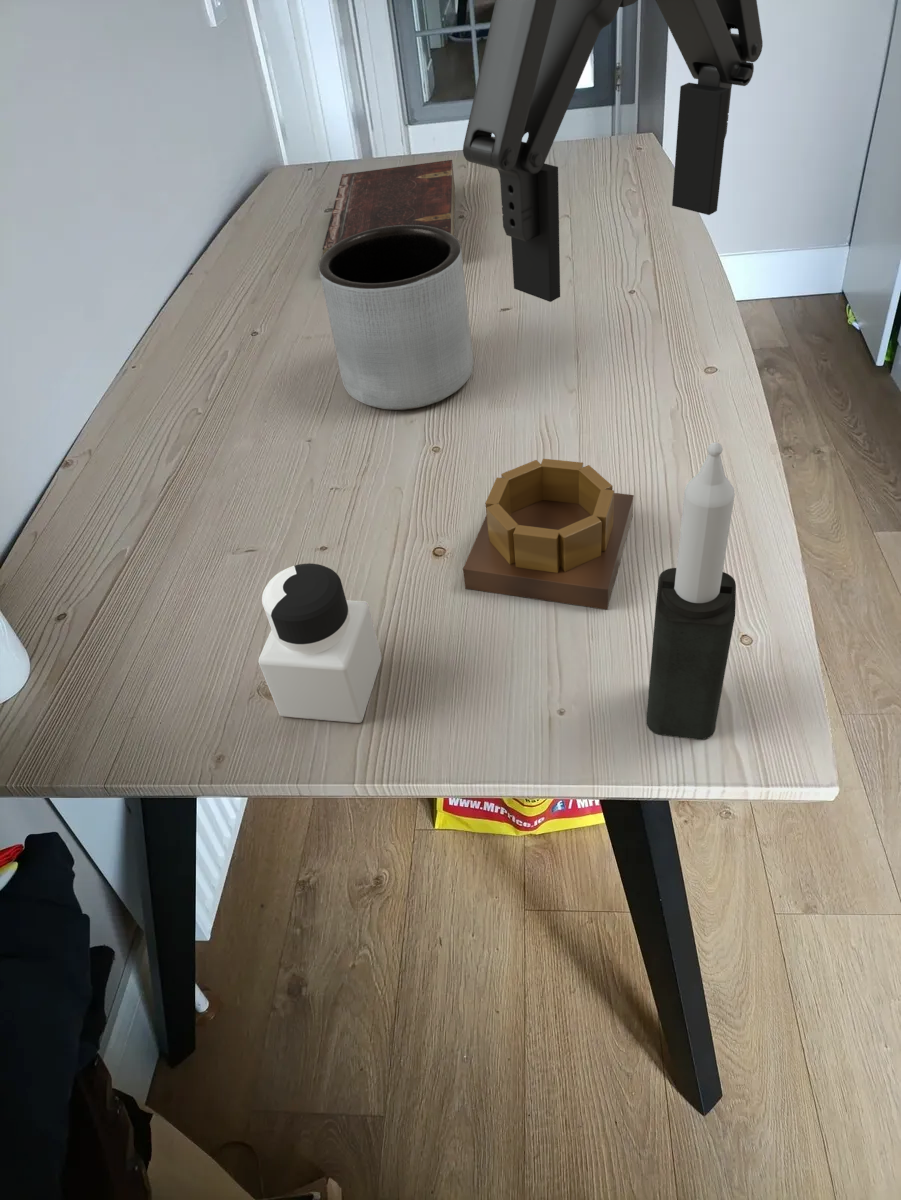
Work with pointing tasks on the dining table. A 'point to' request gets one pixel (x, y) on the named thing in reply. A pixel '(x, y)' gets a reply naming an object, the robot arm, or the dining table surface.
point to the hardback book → (393, 200)
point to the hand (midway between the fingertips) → (620, 248)
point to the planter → (398, 315)
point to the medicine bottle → (318, 646)
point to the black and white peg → (694, 612)
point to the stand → (551, 535)
